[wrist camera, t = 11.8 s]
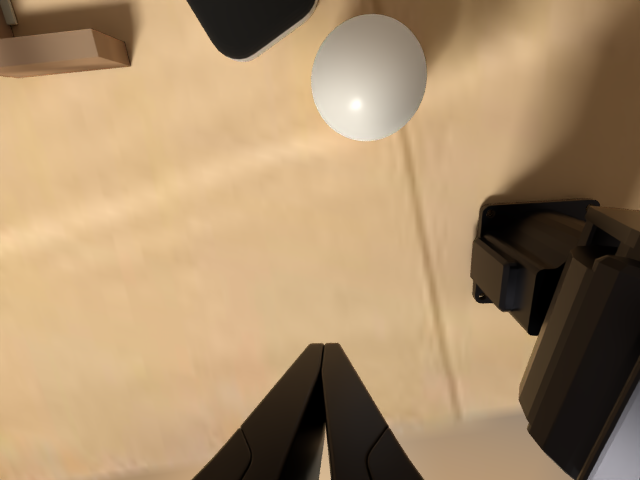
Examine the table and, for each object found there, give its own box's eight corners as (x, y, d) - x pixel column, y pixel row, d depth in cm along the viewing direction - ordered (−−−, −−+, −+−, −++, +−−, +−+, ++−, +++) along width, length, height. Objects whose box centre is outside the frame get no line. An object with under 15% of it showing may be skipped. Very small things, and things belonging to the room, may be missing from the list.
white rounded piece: (409, 35, 17) (428, 7, 13) (407, 135, 18) (425, 136, 14) (314, 45, 17) (306, 20, 13) (321, 142, 19) (315, 145, 15)
